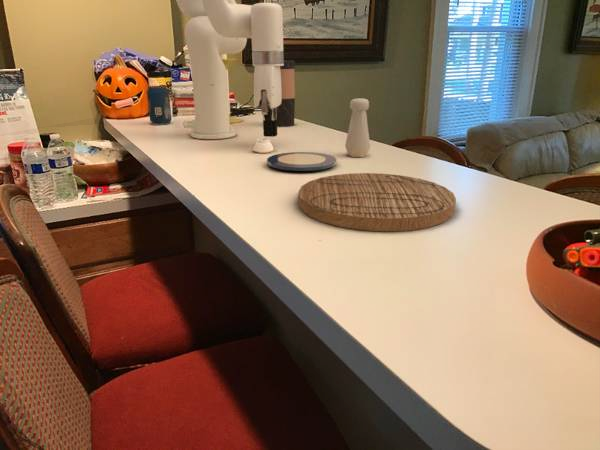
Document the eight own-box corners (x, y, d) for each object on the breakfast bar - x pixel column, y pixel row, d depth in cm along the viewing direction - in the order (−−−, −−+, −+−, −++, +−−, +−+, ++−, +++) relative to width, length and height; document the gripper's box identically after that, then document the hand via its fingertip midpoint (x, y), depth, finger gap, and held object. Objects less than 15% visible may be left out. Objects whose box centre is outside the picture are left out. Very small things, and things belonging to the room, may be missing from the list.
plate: (258, 171, 97) (258, 165, 96) (276, 156, 110) (276, 150, 110) (331, 175, 94) (331, 168, 93) (340, 159, 107) (340, 153, 107)
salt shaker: (368, 158, 108) (371, 100, 103) (343, 157, 109) (345, 99, 104) (370, 153, 113) (373, 97, 108) (346, 152, 114) (348, 97, 110)
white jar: (276, 150, 117) (257, 148, 118) (276, 138, 116) (257, 137, 117) (269, 154, 112) (250, 152, 114) (269, 141, 111) (249, 140, 113)
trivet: (300, 182, 89) (300, 172, 88) (433, 183, 88) (434, 173, 87) (295, 230, 65) (295, 217, 65) (476, 232, 65) (478, 219, 64)
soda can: (152, 122, 161) (148, 85, 156) (173, 121, 161) (169, 85, 157) (148, 125, 154) (144, 87, 150) (170, 124, 155) (166, 87, 151)
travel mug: (294, 126, 151) (294, 60, 144) (271, 126, 151) (269, 60, 144) (295, 123, 158) (294, 60, 151) (272, 123, 158) (271, 60, 151)
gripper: (261, 59, 121) (264, 131, 127) (243, 60, 107) (247, 140, 113) (289, 59, 119) (291, 131, 126) (275, 60, 106) (277, 141, 112)
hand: (270, 135), depth 120 cm, fingers closed
